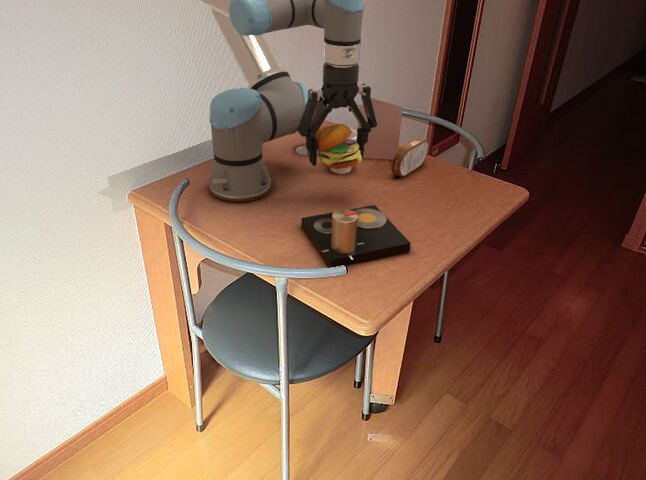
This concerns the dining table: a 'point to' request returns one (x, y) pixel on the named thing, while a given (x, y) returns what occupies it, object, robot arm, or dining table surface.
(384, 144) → the greeting card
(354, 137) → the dixie cup
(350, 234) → the stove knob
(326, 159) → the cheeseburger
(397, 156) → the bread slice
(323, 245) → the stove
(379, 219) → the burners
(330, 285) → the dining table surface
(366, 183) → the dining table surface
